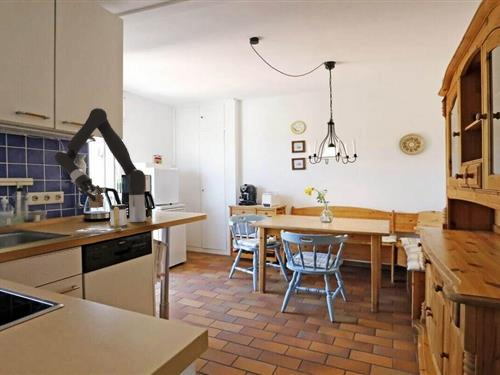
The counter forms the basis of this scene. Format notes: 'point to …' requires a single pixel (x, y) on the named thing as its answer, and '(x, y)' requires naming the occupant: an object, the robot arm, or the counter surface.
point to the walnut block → (96, 202)
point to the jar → (121, 214)
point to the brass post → (116, 219)
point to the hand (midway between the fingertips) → (98, 199)
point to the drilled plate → (95, 231)
